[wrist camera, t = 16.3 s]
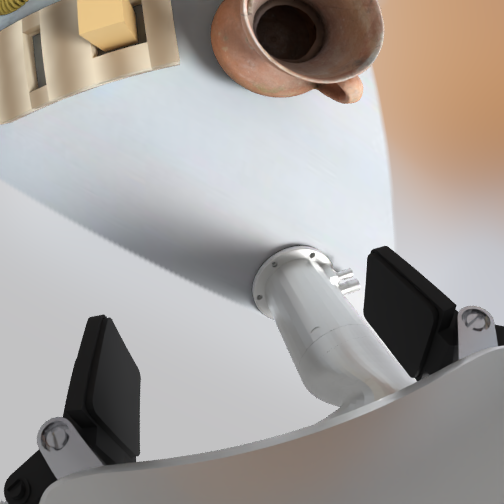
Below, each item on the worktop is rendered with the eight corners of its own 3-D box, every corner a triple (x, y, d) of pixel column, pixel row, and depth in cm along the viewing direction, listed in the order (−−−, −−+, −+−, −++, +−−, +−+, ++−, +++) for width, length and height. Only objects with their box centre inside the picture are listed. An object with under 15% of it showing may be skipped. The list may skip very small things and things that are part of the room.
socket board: (167, -22, 24) (166, -31, 21) (179, 64, 29) (179, 60, 27) (1, 40, 21) (-10, 37, 18) (11, 122, 27) (0, 124, 24)
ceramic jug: (176, 23, 27) (175, -23, 15) (274, -33, 25) (321, -84, 13) (270, 135, 36) (320, 155, 23) (355, 74, 34) (431, 72, 21)
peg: (135, 13, 25) (121, -16, 16) (138, 42, 27) (123, 21, 18) (101, 22, 24) (77, -3, 16) (104, 51, 26) (79, 34, 18)
